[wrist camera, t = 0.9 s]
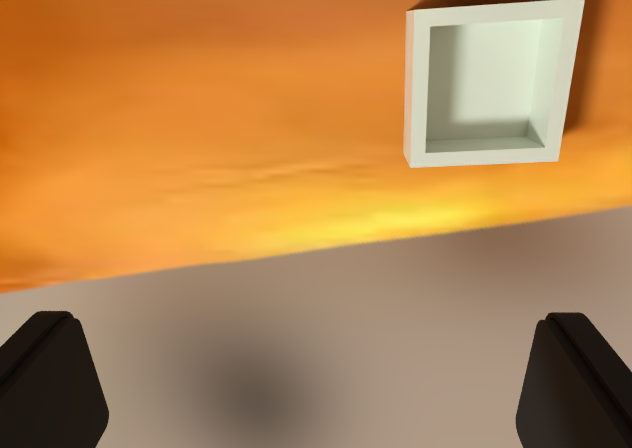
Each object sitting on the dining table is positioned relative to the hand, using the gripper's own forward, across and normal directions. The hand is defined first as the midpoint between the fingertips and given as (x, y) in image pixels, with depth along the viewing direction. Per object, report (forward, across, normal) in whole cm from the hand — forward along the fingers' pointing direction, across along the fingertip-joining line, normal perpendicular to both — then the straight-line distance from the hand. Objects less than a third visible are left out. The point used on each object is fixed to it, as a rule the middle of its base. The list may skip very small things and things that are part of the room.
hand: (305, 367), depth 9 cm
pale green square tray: (+27, -11, -2) cm, 29 cm away
